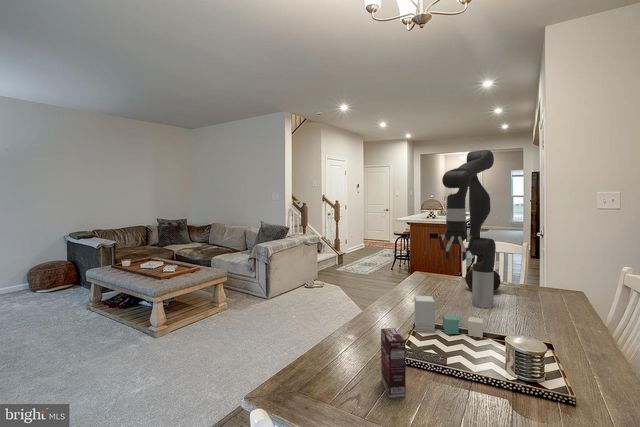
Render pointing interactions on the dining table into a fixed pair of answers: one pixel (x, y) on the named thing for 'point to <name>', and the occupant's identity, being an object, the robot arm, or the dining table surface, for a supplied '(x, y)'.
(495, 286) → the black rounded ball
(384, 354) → the supplement box
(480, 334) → the cream block
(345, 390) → the dining table surface
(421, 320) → the supplement box
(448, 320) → the teal block
